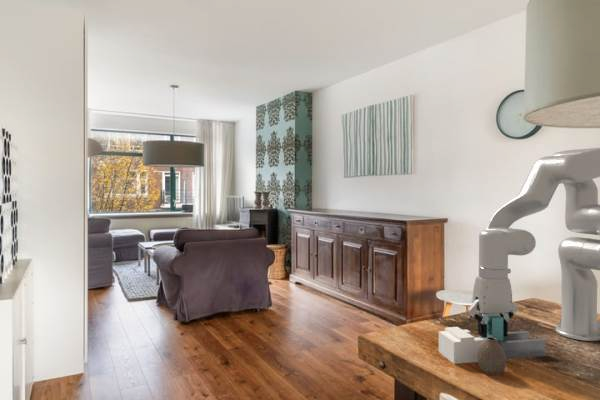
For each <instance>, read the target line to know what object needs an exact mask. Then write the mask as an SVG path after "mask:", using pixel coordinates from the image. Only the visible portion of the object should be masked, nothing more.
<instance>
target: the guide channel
mask: <svg viewBox="0 0 600 400" xmlns="http://www.w3.org/2000/svg"><path fill="white" fill-rule="evenodd" d="M546 342H547V341H546V339H544V338H531V332H530V331H528V330H521V331H520V330H519V331H508V332H507V336H503V341H501V342H498V343H499V344H500V346H501V347H502V348H503V350H504V352H505V354H506V360H512V359H513V360H514V359H525V358H527V359H528V358H537V357H538V358H539V357H547V352H546V345H547V344H546Z"/></svg>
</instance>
